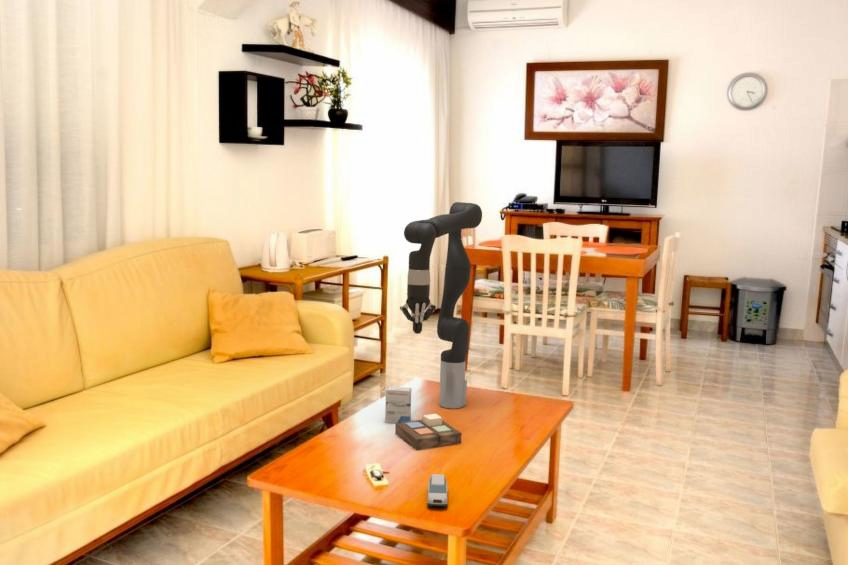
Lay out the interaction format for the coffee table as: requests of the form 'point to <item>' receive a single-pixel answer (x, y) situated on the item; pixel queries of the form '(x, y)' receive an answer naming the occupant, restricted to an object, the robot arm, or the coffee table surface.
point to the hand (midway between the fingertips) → (417, 333)
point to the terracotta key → (423, 431)
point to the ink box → (398, 405)
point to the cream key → (432, 420)
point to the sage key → (441, 429)
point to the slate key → (414, 425)
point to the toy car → (437, 491)
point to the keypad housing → (427, 436)
